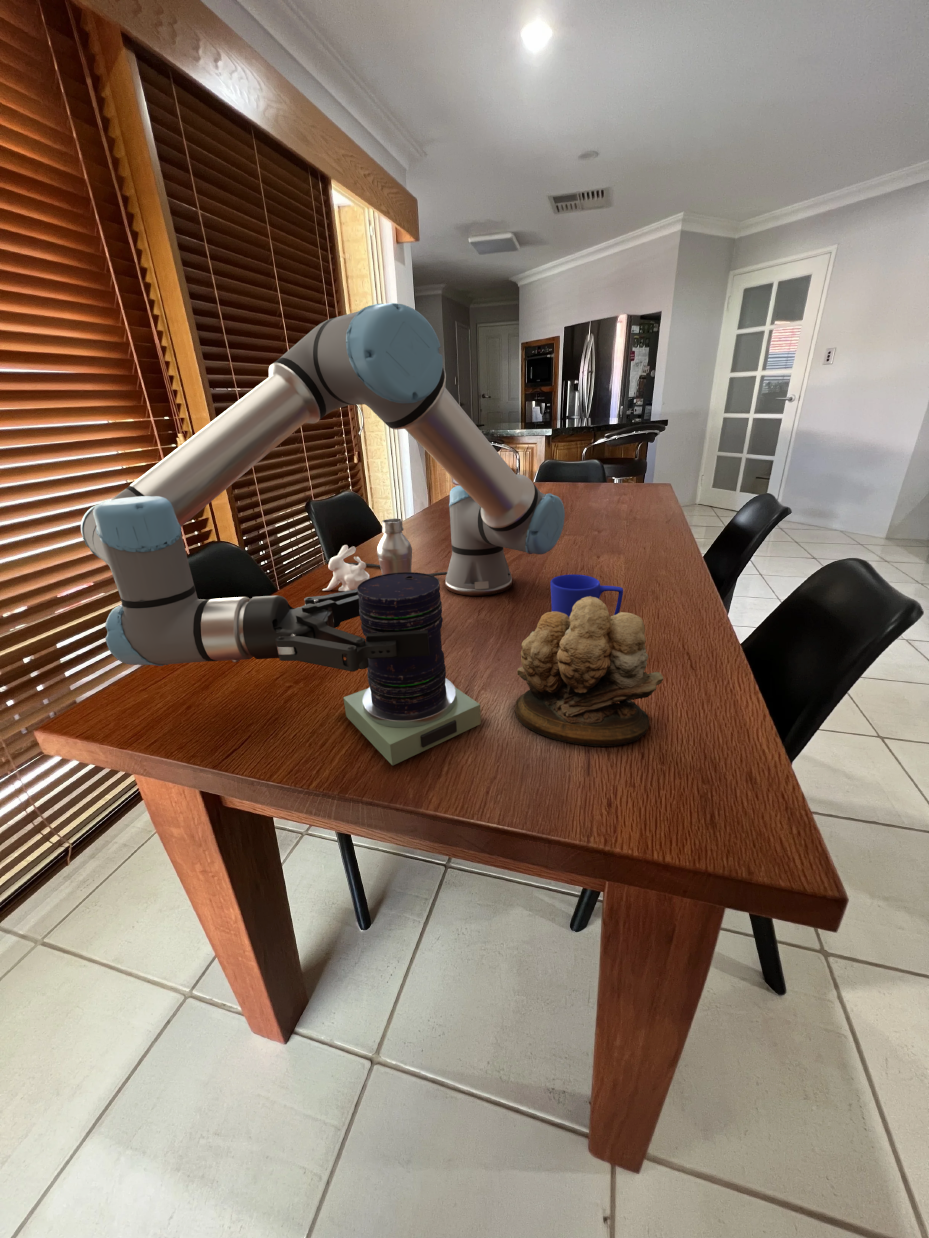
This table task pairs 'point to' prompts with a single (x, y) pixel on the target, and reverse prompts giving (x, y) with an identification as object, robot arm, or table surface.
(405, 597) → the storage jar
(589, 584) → the mug
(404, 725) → the weighing pan
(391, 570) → the metal bottle
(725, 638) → the table surface
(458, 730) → the scale
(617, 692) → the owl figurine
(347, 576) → the rabbit figurine
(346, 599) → the robot arm
